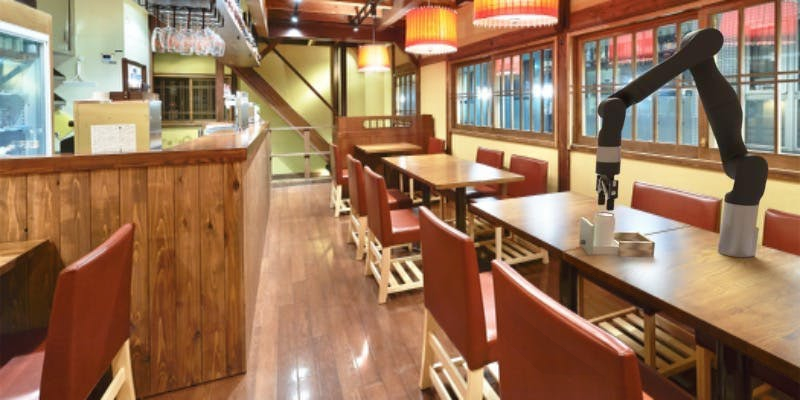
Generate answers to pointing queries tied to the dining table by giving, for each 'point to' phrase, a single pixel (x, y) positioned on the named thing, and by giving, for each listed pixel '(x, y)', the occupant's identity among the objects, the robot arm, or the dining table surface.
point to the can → (604, 229)
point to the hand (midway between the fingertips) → (605, 207)
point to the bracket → (588, 239)
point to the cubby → (634, 244)
